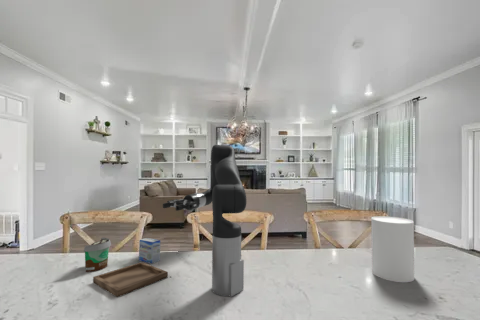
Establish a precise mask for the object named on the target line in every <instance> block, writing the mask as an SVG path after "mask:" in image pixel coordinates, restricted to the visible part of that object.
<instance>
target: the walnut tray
mask: <svg viewBox="0 0 480 320" xmlns="http://www.w3.org/2000/svg"><path fill="white" fill-rule="evenodd" d="M168 273H169V272H168V271H167V270H164V269H161V268H158V267H157V266H153V265H151V264H150V263H149V264H148V263H147V262H143V261H139V262H138V263H134V264H131V265H127V266H124V267H120V268H118V269H115V270H112V271H108V272H105V273H101V274H98V275H95V276H93V277H92V278H93V279H92V283H93V284H94V285H95V286H97V287H99V288H101V289H102V290H105V291H106V292H108V293H109V294H111V295H112V296H115V297H116V298H119V297H122V296H125V295H127V294H130V293H133V292H135V291H137V290H140V289H143V288H145V287H148V286H150V285H152V284H155V283H158V282H160V281H162V280H165V279H167V278H168V277H169V274H168Z"/></svg>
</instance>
